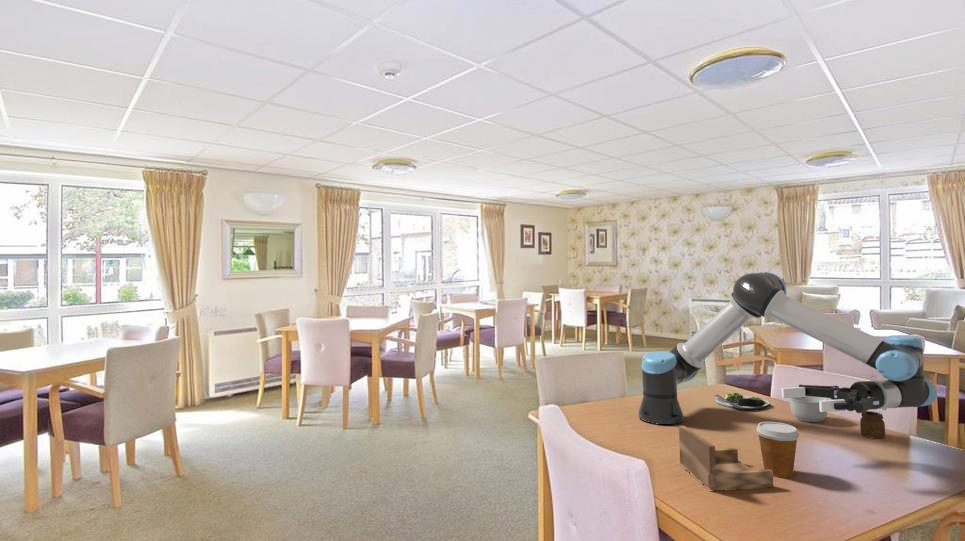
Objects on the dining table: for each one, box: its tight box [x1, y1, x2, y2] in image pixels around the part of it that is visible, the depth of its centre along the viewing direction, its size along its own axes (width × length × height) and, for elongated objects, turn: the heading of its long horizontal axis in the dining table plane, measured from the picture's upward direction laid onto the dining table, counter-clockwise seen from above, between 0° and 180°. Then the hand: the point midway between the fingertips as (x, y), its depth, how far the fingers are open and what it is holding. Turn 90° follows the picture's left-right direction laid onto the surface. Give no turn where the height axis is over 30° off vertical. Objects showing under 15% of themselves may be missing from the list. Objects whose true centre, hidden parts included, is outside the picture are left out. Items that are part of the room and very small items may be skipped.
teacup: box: [789, 396, 828, 423], centre depth 163 cm, size 14×11×8 cm
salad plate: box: [714, 392, 771, 412], centre depth 182 cm, size 19×18×5 cm
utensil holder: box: [859, 409, 886, 439], centre depth 145 cm, size 6×6×12 cm
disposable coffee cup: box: [755, 421, 800, 479], centre depth 121 cm, size 10×10×12 cm
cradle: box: [678, 425, 774, 491], centre depth 120 cm, size 16×15×11 cm
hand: (800, 399), depth 126 cm, fingers open, 13 cm apart
